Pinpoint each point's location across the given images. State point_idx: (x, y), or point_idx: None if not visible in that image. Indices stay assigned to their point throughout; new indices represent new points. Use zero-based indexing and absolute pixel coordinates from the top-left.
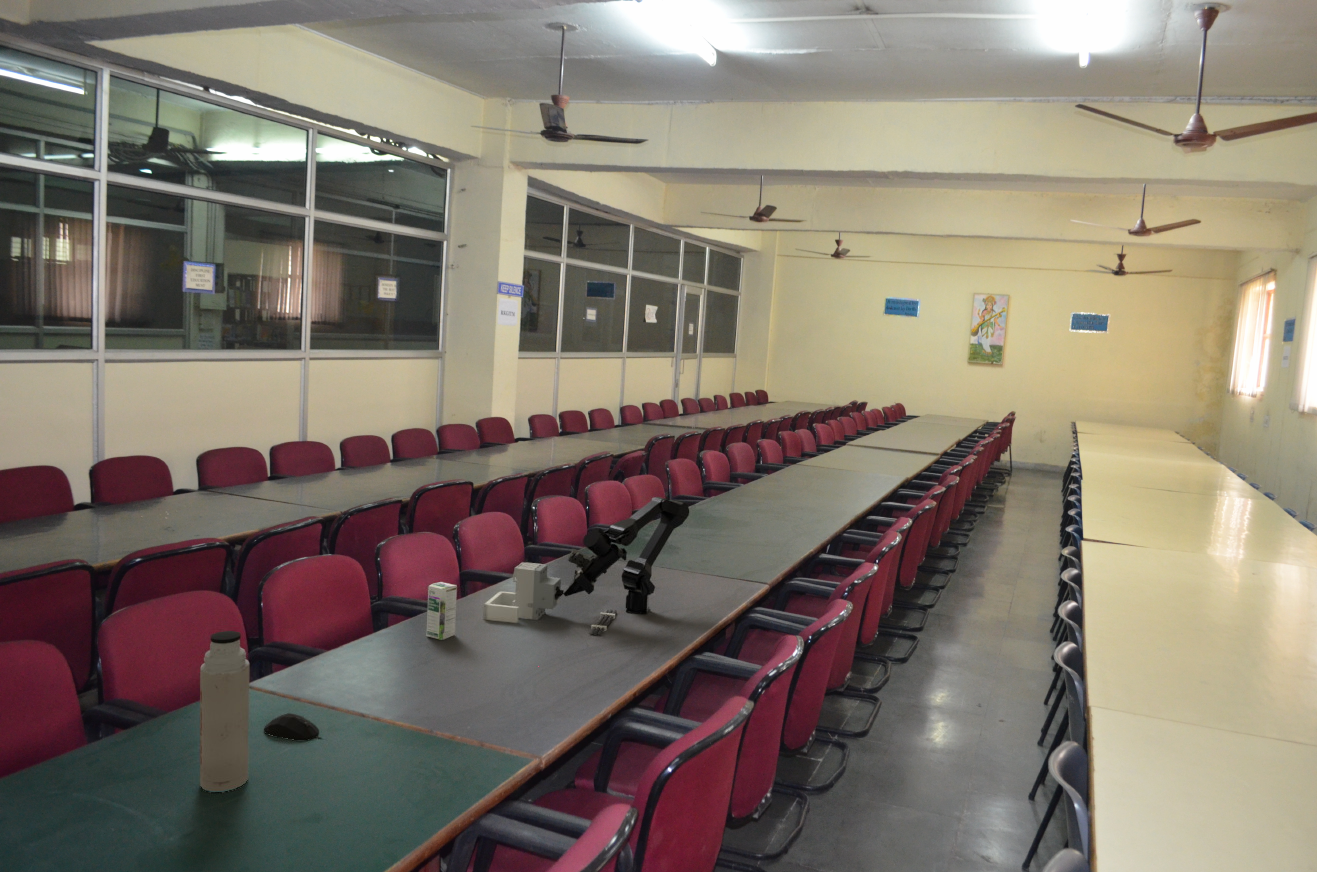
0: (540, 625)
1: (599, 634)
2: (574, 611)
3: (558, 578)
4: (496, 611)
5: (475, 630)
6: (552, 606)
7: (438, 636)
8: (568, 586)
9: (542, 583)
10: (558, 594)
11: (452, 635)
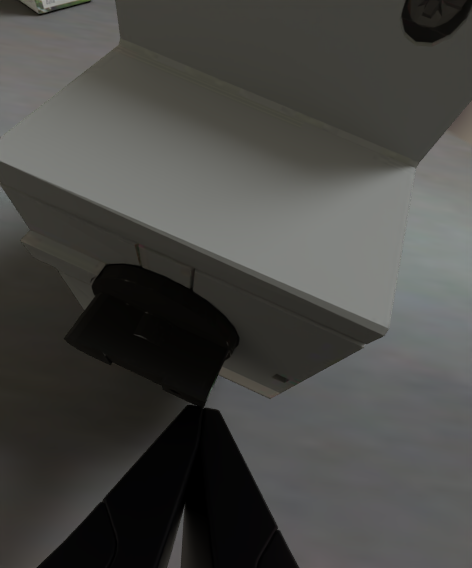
0: (55, 272)
1: None
2: (313, 542)
3: (364, 290)
4: None
5: (70, 61)
6: (83, 304)
7: None
8: (240, 482)
9: (101, 63)
10: (79, 318)
11: (30, 7)
